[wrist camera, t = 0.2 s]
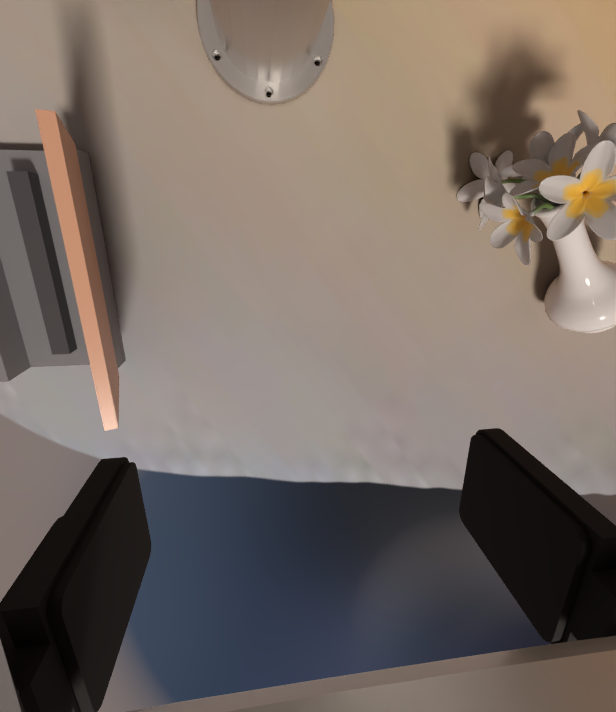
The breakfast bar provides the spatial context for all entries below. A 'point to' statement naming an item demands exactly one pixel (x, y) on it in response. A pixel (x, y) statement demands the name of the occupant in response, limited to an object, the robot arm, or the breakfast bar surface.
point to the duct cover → (82, 261)
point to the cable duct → (15, 281)
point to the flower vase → (558, 217)
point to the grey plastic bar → (42, 259)
